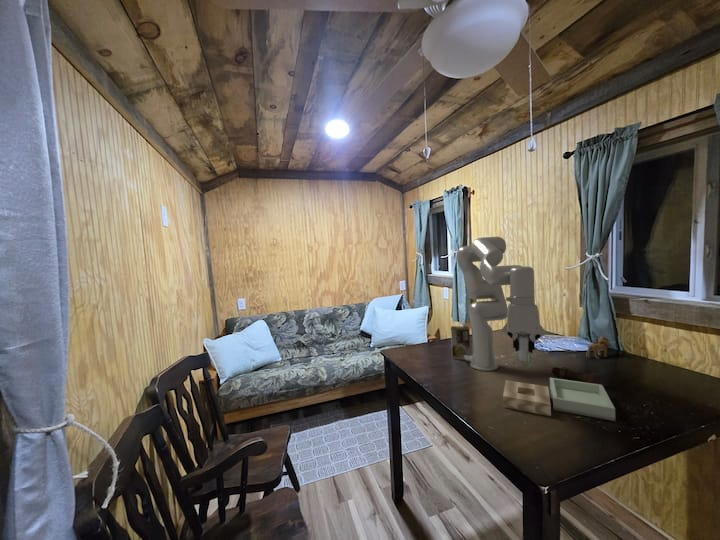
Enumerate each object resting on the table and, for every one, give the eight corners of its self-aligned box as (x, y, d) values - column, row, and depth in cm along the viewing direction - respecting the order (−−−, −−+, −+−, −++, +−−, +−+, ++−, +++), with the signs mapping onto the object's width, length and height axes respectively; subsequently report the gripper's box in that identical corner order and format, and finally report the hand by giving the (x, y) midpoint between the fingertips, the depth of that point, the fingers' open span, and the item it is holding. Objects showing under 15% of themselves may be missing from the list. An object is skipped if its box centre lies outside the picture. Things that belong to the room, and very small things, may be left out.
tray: (553, 409, 96) (553, 398, 96) (550, 387, 111) (549, 377, 111) (615, 421, 88) (615, 408, 87) (602, 395, 103) (602, 384, 103)
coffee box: (470, 355, 150) (468, 326, 150) (470, 360, 144) (469, 329, 144) (452, 354, 153) (451, 325, 153) (452, 359, 147) (450, 328, 147)
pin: (514, 366, 100) (513, 331, 100) (515, 360, 106) (514, 326, 105) (534, 369, 97) (533, 332, 97) (533, 363, 102) (532, 328, 102)
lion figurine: (599, 352, 144) (599, 335, 144) (612, 355, 140) (611, 337, 139) (583, 357, 138) (582, 339, 138) (595, 361, 134) (595, 342, 133)
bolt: (554, 378, 123) (596, 389, 110) (548, 375, 121) (591, 386, 108) (557, 365, 124) (598, 375, 111) (551, 362, 122) (593, 371, 109)
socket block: (503, 407, 99) (503, 396, 99) (506, 390, 111) (505, 380, 111) (551, 416, 92) (550, 404, 92) (548, 397, 104) (548, 386, 104)
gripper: (495, 302, 101) (497, 351, 102) (551, 303, 93) (552, 357, 94) (497, 298, 108) (499, 345, 109) (549, 299, 99) (551, 350, 100)
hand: (523, 350), depth 101 cm, fingers closed on pin, 4 cm apart
